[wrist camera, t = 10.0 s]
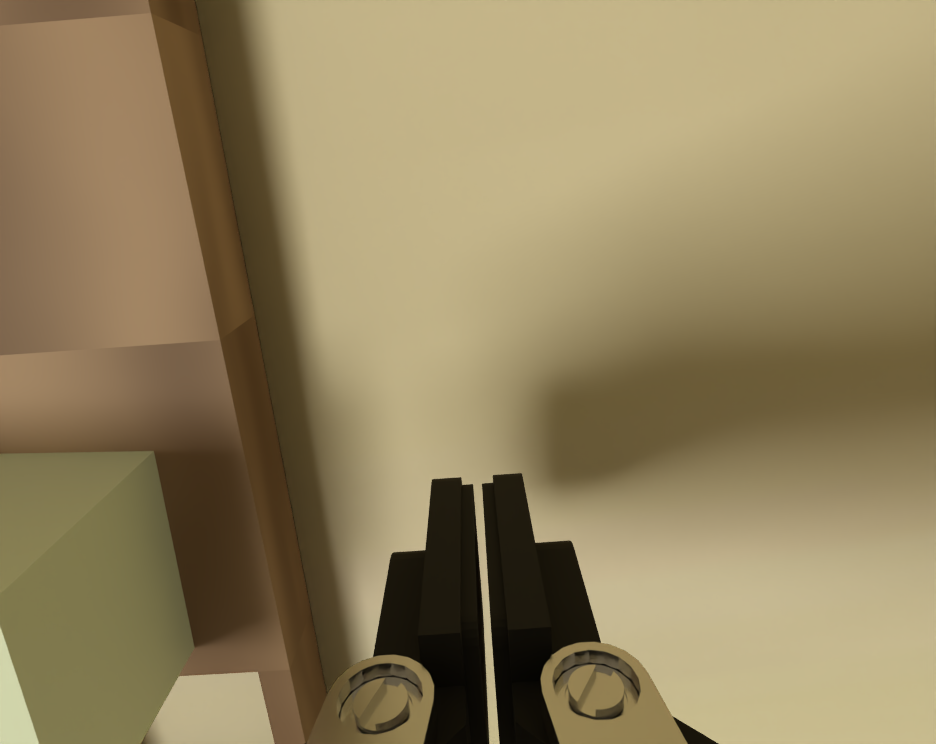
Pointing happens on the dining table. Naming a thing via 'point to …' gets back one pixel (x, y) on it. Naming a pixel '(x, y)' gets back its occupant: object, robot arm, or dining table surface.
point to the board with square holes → (148, 316)
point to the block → (86, 598)
